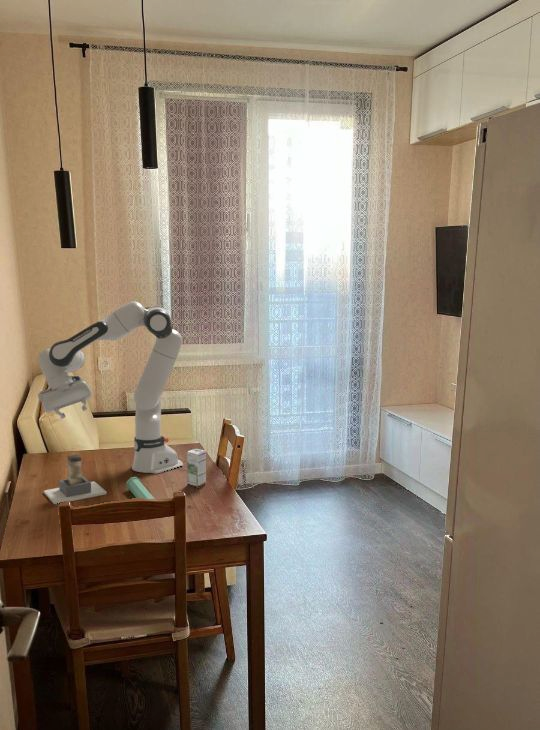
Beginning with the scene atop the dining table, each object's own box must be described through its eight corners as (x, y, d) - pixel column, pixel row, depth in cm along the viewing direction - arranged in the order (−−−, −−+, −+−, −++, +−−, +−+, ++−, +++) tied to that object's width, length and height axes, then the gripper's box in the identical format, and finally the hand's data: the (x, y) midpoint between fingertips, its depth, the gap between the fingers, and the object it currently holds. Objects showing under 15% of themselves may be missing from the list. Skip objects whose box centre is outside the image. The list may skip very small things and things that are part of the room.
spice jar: (78, 488, 237) (77, 454, 235) (82, 491, 234) (81, 457, 232) (68, 490, 235) (67, 456, 233) (71, 493, 232) (70, 458, 230)
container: (156, 495, 219) (137, 473, 240) (141, 504, 217) (123, 481, 238) (162, 509, 221) (142, 486, 242) (147, 517, 219) (129, 493, 240)
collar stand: (94, 483, 246) (93, 471, 245) (106, 494, 235) (106, 481, 234) (43, 492, 235) (43, 480, 234) (54, 504, 223) (53, 491, 223)
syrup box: (206, 484, 249) (206, 450, 247) (197, 488, 244) (197, 453, 242) (195, 481, 252) (196, 447, 250) (186, 485, 247) (186, 451, 245)
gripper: (37, 389, 242) (51, 419, 239) (84, 374, 254) (98, 403, 251) (35, 396, 247) (48, 425, 244) (81, 381, 259) (95, 408, 256)
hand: (74, 413), depth 248 cm, fingers open, 8 cm apart
